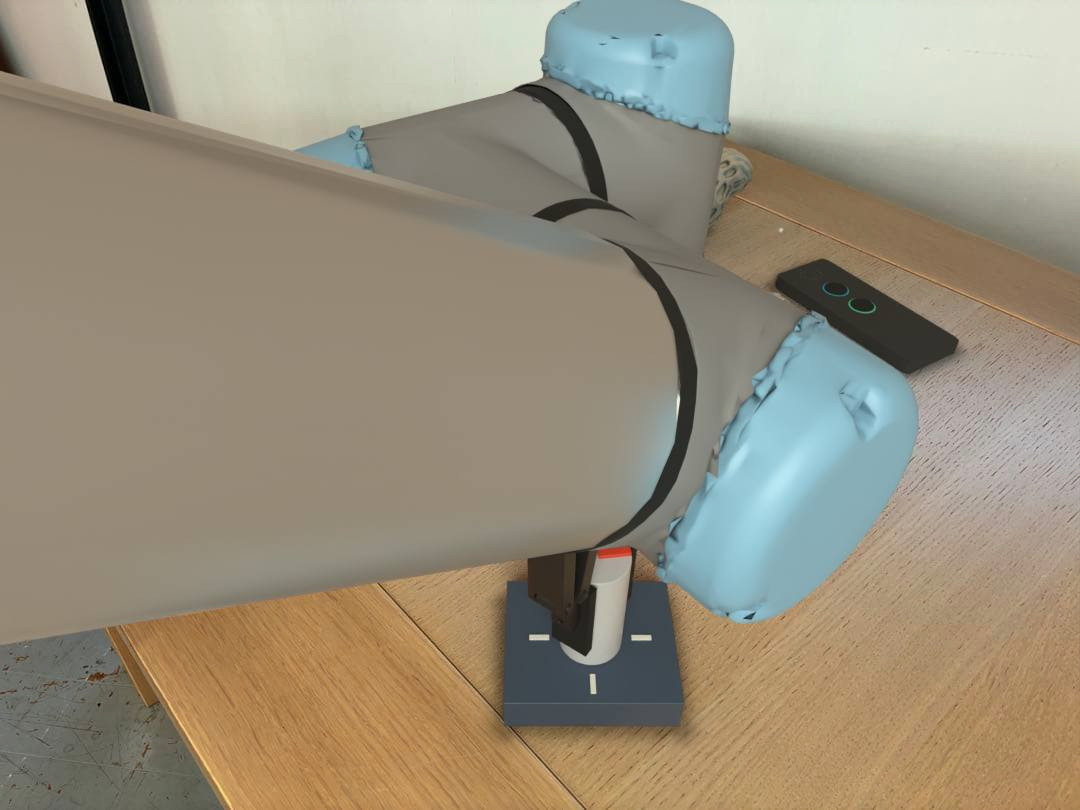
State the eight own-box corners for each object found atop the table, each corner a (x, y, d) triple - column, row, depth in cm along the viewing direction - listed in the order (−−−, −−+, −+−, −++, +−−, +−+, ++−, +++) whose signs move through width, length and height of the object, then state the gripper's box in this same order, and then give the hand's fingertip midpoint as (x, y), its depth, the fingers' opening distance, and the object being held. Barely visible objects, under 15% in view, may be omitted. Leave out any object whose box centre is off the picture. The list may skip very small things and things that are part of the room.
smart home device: (825, 255, 101) (963, 338, 88) (821, 268, 103) (957, 351, 90) (774, 273, 98) (910, 362, 85) (771, 286, 99) (905, 376, 86)
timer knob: (564, 668, 56) (568, 584, 50) (554, 614, 60) (558, 529, 54) (627, 661, 57) (639, 577, 51) (614, 608, 60) (624, 523, 54)
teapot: (722, 204, 115) (740, 96, 105) (764, 244, 107) (787, 130, 97) (578, 226, 110) (583, 114, 100) (610, 269, 102) (618, 152, 92)
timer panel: (503, 726, 56) (503, 702, 54) (507, 604, 64) (507, 579, 62) (679, 726, 57) (685, 702, 55) (662, 605, 64) (666, 579, 62)
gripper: (584, 471, 34) (567, 747, 50) (756, 286, 45) (699, 558, 61) (445, 403, 38) (469, 681, 53) (637, 246, 49) (611, 514, 64)
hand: (592, 615), depth 57 cm, fingers closed on timer knob, 4 cm apart
